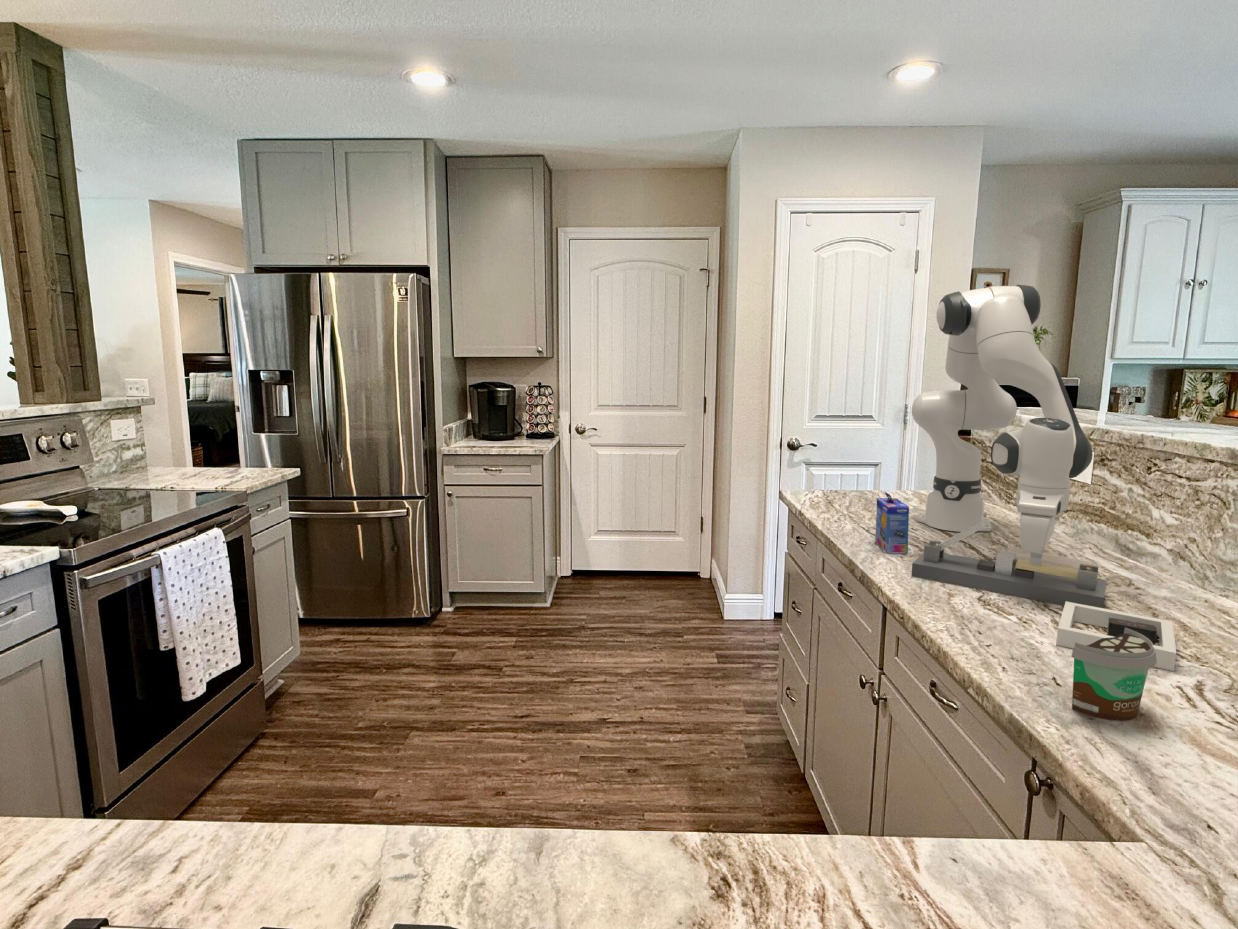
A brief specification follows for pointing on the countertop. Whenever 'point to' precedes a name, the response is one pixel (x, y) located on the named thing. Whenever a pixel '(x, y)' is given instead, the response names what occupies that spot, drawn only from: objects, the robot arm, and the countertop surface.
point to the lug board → (1010, 577)
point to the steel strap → (961, 535)
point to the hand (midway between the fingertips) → (1035, 564)
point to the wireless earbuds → (1118, 627)
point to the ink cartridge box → (892, 525)
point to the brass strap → (1049, 569)
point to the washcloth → (1047, 558)
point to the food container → (1112, 675)
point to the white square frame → (1100, 618)
